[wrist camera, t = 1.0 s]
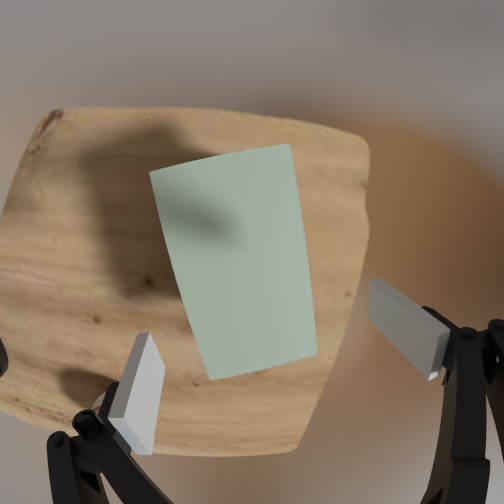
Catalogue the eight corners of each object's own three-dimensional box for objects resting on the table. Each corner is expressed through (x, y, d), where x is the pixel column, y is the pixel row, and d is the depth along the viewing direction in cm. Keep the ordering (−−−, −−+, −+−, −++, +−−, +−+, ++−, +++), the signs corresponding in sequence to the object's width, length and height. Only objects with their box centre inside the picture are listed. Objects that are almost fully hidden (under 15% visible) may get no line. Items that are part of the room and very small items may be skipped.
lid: (307, 336, 30) (317, 354, 27) (209, 359, 29) (210, 380, 26) (279, 146, 24) (289, 143, 21) (157, 171, 23) (149, 171, 20)
